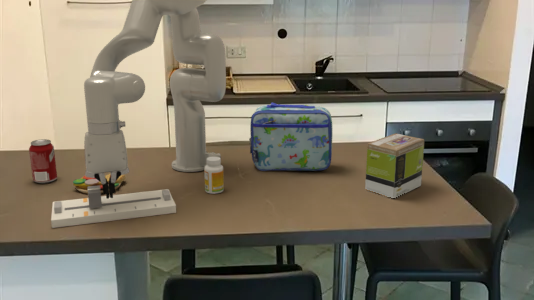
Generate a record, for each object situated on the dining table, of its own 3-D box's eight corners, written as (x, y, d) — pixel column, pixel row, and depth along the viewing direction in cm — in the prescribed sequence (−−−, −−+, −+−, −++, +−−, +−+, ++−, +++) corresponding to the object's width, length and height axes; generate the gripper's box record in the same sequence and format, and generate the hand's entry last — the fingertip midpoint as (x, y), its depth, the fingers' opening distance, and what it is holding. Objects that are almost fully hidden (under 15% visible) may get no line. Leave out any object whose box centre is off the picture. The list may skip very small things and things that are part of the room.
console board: (168, 195, 150) (168, 184, 149) (176, 212, 139) (175, 200, 138) (53, 208, 140) (52, 196, 139) (51, 228, 129) (50, 214, 128)
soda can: (49, 185, 156) (44, 145, 153) (28, 183, 158) (23, 144, 154) (62, 177, 163) (57, 139, 159) (41, 175, 164) (37, 138, 160)
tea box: (392, 178, 165) (396, 131, 161) (421, 187, 158) (426, 138, 154) (363, 190, 155) (366, 141, 151) (393, 200, 148) (397, 149, 144)
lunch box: (248, 171, 169) (247, 106, 163) (252, 161, 180) (252, 99, 173) (331, 175, 167) (334, 109, 161) (330, 164, 177) (333, 102, 171)
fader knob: (101, 199, 140) (99, 184, 139) (102, 206, 136) (100, 191, 134) (88, 201, 139) (87, 186, 138) (89, 208, 135) (87, 193, 133)
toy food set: (130, 181, 161) (129, 171, 160) (111, 198, 149) (110, 187, 148) (89, 178, 163) (88, 168, 162) (66, 194, 151) (65, 183, 150)
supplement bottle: (226, 188, 155) (226, 156, 152) (219, 195, 150) (218, 162, 148) (209, 186, 157) (209, 154, 154) (201, 192, 152) (200, 160, 149)
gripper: (133, 121, 138) (137, 188, 144) (71, 126, 134) (78, 194, 139) (136, 128, 132) (140, 198, 137) (71, 133, 127) (79, 205, 132)
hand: (109, 196), depth 138 cm, fingers closed
